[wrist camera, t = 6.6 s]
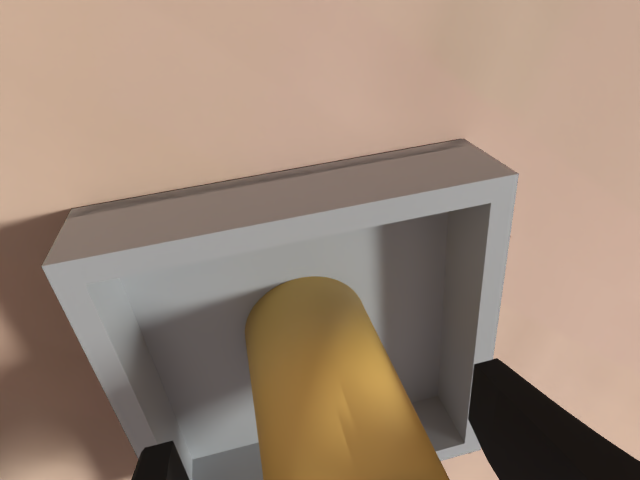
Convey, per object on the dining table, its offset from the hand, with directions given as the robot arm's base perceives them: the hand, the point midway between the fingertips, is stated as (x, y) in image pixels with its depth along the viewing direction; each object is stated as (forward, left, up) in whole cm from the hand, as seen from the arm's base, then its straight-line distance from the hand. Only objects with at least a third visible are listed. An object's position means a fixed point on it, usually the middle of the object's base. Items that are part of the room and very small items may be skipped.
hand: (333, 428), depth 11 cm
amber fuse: (0, 0, -3) cm, 3 cm away
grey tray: (0, 0, -4) cm, 4 cm away
